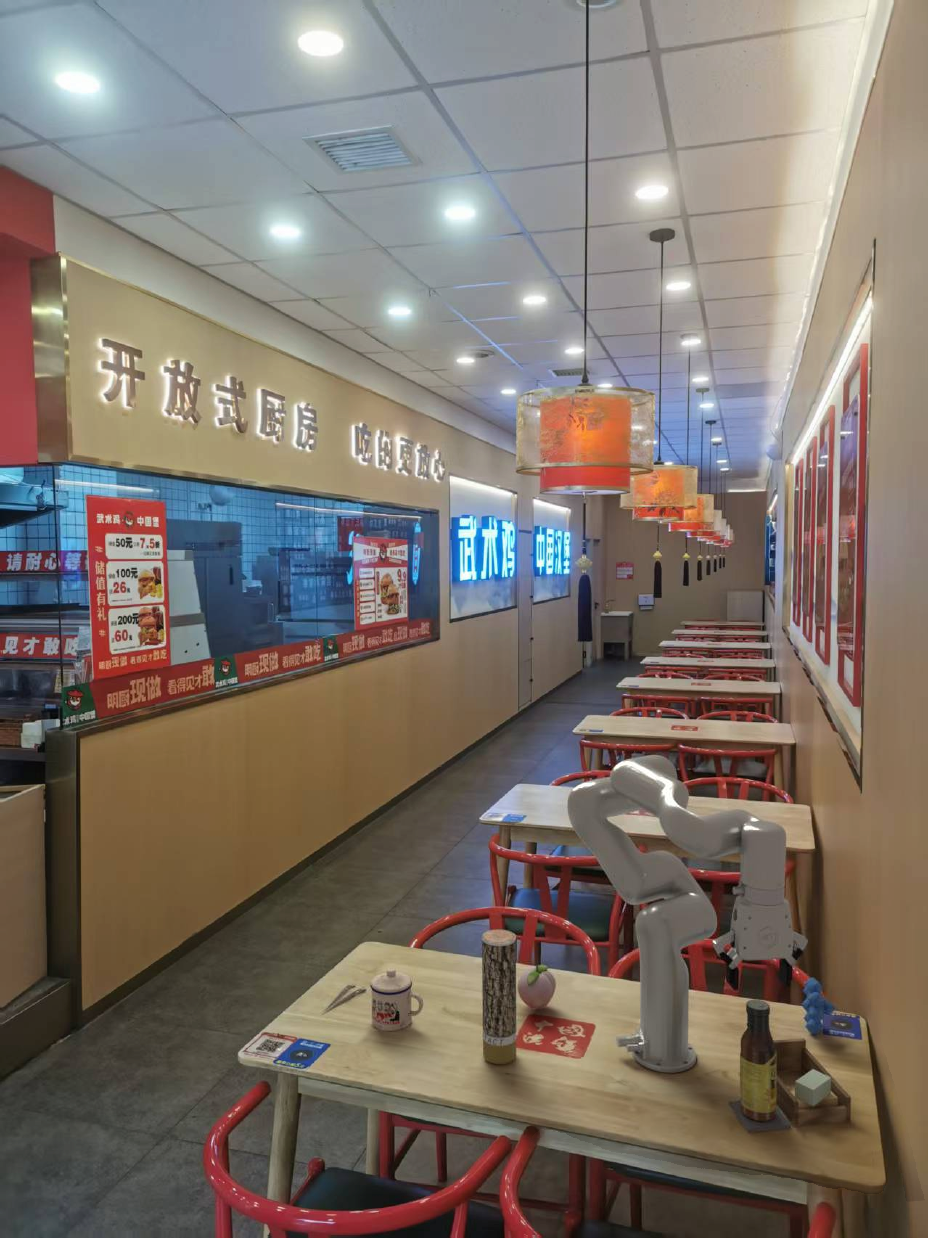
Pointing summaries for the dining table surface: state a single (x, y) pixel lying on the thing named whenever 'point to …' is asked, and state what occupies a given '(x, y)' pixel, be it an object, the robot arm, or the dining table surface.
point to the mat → (752, 1125)
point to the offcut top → (812, 1087)
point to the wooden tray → (799, 1058)
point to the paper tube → (499, 996)
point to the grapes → (815, 1006)
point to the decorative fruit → (536, 987)
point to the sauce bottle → (758, 1064)
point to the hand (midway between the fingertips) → (758, 985)
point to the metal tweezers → (344, 997)
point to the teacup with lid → (393, 1000)
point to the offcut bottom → (826, 1102)
